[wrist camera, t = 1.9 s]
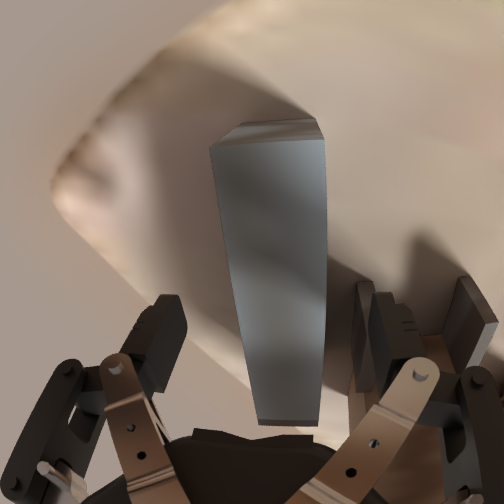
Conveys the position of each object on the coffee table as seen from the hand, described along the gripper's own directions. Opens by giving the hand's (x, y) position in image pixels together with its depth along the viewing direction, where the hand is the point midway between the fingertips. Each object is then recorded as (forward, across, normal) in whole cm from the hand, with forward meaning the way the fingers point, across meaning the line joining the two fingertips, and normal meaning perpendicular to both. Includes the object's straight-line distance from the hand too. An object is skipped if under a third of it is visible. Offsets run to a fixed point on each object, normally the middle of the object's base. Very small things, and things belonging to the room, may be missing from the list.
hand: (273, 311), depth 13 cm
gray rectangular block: (+6, 0, +1) cm, 6 cm away
